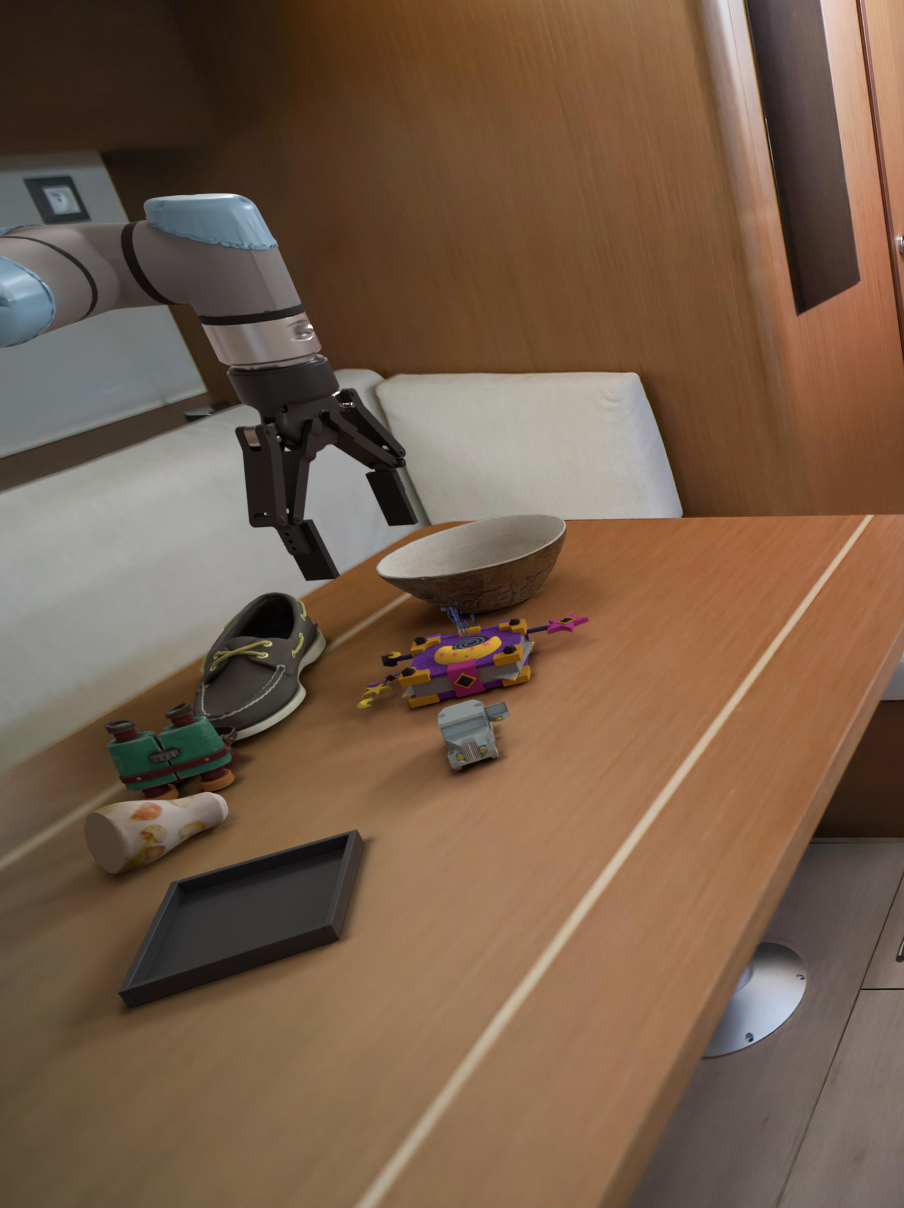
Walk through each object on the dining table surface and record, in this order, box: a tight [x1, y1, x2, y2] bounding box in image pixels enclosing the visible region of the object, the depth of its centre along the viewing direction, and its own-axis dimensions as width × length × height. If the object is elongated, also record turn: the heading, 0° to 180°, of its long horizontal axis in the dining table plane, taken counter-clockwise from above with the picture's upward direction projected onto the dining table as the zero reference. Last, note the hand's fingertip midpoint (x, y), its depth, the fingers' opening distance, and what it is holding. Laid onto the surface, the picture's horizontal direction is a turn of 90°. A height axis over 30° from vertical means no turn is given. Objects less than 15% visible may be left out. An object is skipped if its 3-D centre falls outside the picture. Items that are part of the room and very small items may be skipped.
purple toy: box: [357, 595, 590, 709], centre depth 128 cm, size 15×25×12 cm, turn 121°
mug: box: [83, 791, 229, 875], centre depth 100 cm, size 8×10×10 cm
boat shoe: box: [191, 591, 327, 742], centre depth 124 cm, size 11×29×9 cm, turn 38°
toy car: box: [436, 699, 511, 771], centre depth 116 cm, size 6×10×5 cm, turn 40°
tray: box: [117, 828, 365, 1009], centre depth 92 cm, size 14×15×2 cm
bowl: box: [375, 513, 568, 615], centre depth 148 cm, size 24×24×10 cm
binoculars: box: [103, 701, 243, 801], centre depth 108 cm, size 9×11×10 cm
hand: (366, 550), depth 105 cm, fingers open, 13 cm apart
